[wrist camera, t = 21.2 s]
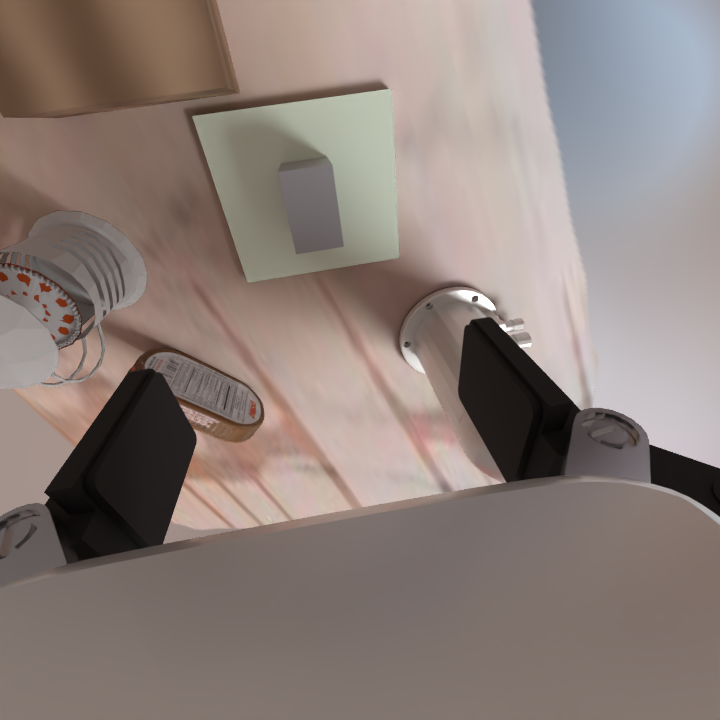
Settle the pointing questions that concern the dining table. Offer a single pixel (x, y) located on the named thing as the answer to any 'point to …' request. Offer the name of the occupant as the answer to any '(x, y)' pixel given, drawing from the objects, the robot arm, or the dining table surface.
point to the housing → (109, 55)
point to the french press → (62, 293)
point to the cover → (306, 182)
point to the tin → (207, 395)
